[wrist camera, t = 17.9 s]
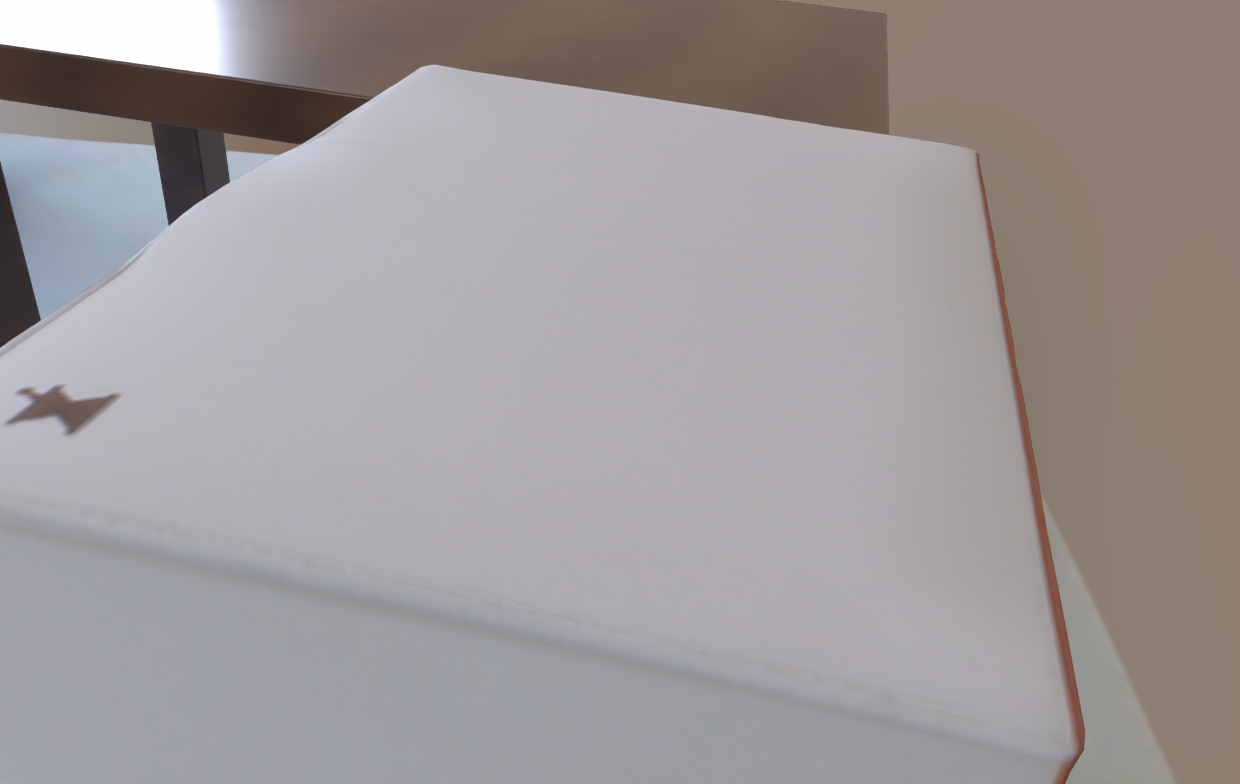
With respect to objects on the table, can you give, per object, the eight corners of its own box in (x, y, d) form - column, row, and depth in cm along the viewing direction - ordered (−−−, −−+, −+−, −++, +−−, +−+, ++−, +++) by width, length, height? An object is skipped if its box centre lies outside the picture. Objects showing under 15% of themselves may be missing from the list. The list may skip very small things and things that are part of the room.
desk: (-17, 540, 38) (-191, 17, 28) (218, 327, 51) (156, -78, 41) (770, 706, 34) (890, 171, 24) (801, 430, 47) (887, 12, 37)
